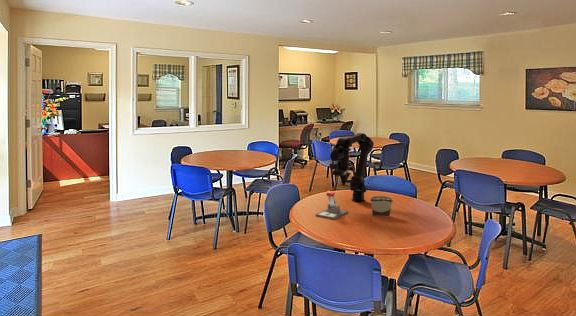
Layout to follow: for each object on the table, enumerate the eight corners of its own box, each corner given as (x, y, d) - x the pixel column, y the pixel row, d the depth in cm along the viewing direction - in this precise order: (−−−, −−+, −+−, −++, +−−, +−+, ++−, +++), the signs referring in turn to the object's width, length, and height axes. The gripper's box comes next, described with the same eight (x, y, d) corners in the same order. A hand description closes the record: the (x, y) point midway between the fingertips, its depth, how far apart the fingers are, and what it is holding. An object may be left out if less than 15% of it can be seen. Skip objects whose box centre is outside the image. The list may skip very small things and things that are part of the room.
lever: (331, 206, 240) (327, 190, 235) (338, 207, 237) (334, 191, 232) (329, 208, 239) (325, 192, 233) (336, 209, 236) (332, 193, 231)
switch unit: (329, 209, 247) (329, 201, 246) (347, 212, 240) (348, 204, 239) (315, 216, 233) (315, 207, 233) (334, 219, 227) (335, 210, 226)
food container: (390, 213, 238) (391, 196, 237) (392, 216, 232) (393, 198, 231) (368, 212, 240) (369, 195, 238) (369, 216, 234) (370, 198, 232)
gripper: (338, 155, 261) (338, 180, 263) (324, 159, 245) (324, 186, 248) (355, 157, 255) (355, 182, 257) (341, 161, 239) (341, 188, 242)
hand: (343, 185), depth 251 cm, fingers closed
